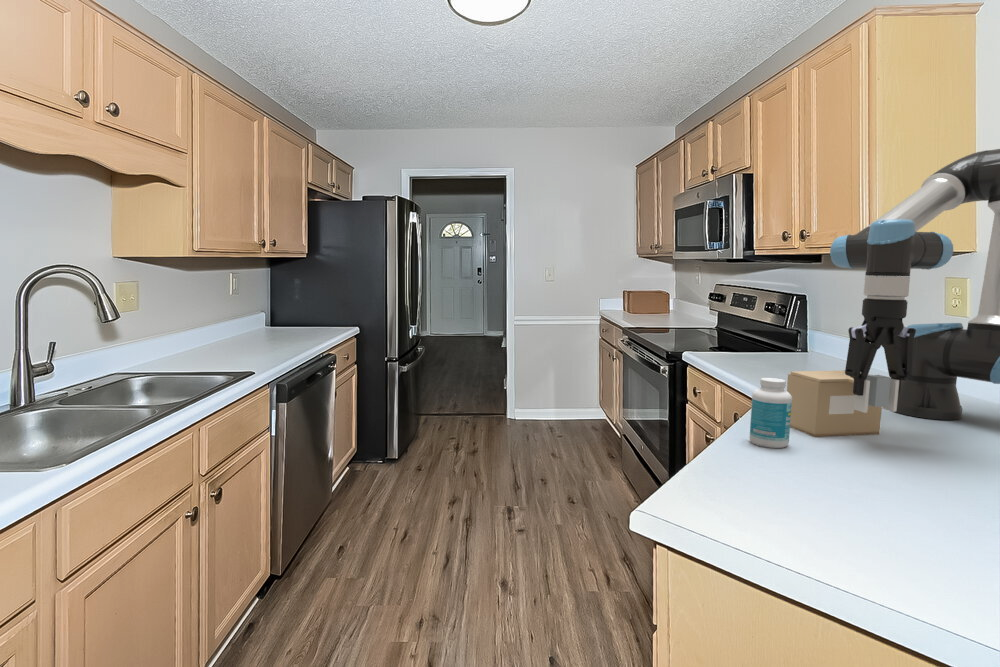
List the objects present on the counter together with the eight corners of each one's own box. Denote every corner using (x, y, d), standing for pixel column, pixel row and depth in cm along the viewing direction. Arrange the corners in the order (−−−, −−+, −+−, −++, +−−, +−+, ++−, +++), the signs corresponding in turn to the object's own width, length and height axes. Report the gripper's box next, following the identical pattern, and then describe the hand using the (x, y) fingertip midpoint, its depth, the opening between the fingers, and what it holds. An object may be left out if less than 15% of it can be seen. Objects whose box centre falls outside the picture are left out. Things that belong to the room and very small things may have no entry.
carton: (845, 422, 137) (849, 372, 136) (879, 434, 127) (884, 381, 126) (784, 424, 135) (788, 373, 133) (814, 437, 125) (819, 382, 123)
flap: (850, 387, 136) (852, 362, 135) (915, 405, 118) (917, 376, 118) (789, 389, 133) (791, 363, 132) (846, 407, 116) (849, 378, 115)
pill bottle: (793, 450, 115) (798, 384, 114) (753, 447, 117) (758, 382, 115) (782, 439, 123) (787, 377, 121) (745, 437, 124) (749, 375, 122)
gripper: (910, 297, 121) (899, 404, 124) (829, 296, 118) (820, 407, 121) (942, 299, 114) (931, 413, 117) (857, 298, 111) (847, 416, 113)
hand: (874, 410), depth 119 cm, fingers open, 6 cm apart
